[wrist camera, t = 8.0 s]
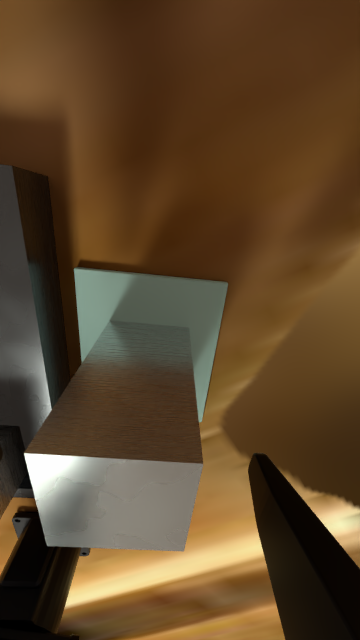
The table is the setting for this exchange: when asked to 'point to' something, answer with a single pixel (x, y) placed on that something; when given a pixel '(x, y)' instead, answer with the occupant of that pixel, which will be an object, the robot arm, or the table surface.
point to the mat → (153, 311)
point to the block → (11, 464)
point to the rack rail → (29, 308)
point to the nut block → (122, 445)
